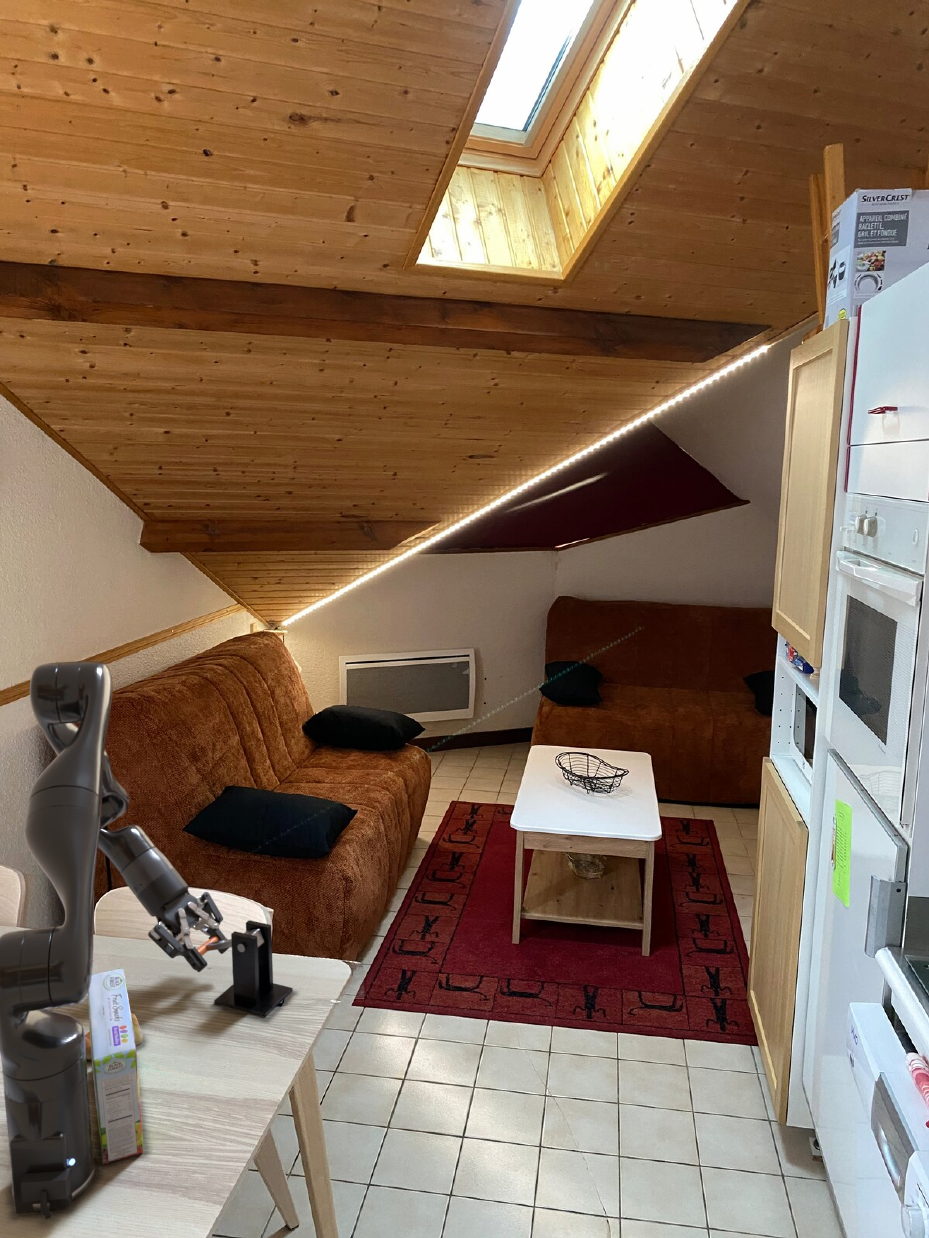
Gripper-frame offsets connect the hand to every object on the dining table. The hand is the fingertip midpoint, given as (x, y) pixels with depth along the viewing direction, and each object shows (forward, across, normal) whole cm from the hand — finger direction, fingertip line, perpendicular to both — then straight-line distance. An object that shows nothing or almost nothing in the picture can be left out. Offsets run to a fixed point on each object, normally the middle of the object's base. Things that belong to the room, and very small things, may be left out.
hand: (214, 959), depth 153 cm
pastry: (0, -18, +8) cm, 20 cm away
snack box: (+8, -29, +1) cm, 30 cm away
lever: (+1, 0, -4) cm, 4 cm away
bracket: (+9, 0, -1) cm, 10 cm away
